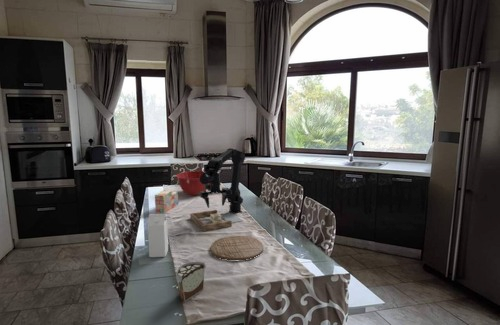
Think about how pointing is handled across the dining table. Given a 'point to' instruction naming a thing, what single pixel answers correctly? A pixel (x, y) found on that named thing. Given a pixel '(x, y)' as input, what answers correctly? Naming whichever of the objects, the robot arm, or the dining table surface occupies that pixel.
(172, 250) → the dining table surface
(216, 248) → the trivet
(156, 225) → the milk carton
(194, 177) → the mixing bowl
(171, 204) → the colourful printed box
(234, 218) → the grey mat
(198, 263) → the cake slice
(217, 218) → the birch block
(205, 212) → the walnut u-shaped frame
